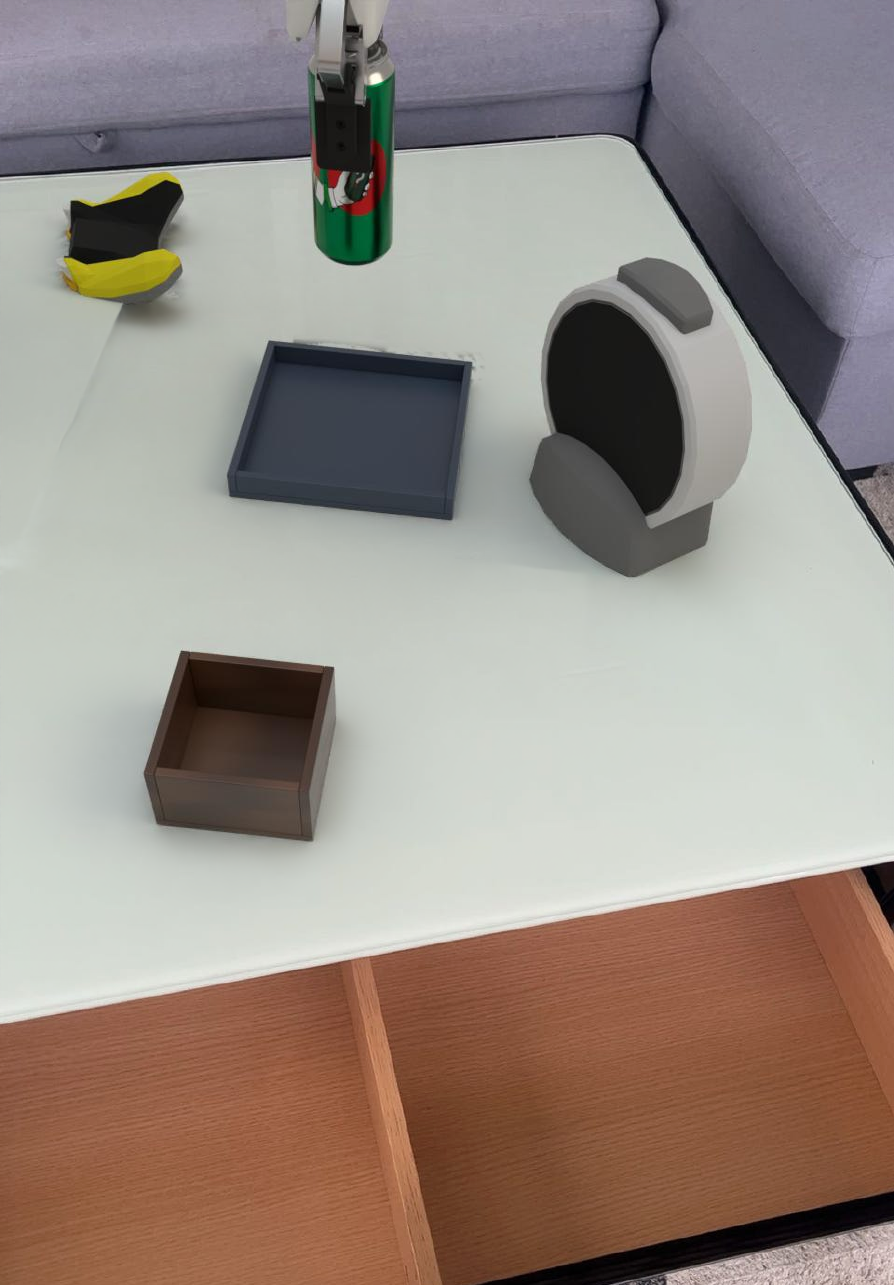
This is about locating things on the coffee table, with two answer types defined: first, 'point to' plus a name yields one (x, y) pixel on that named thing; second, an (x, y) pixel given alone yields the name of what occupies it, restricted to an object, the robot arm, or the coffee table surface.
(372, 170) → the soda can
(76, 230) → the gaming controller
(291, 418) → the tray
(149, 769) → the dark wooden box
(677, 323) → the alarm clock
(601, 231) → the coffee table surface
